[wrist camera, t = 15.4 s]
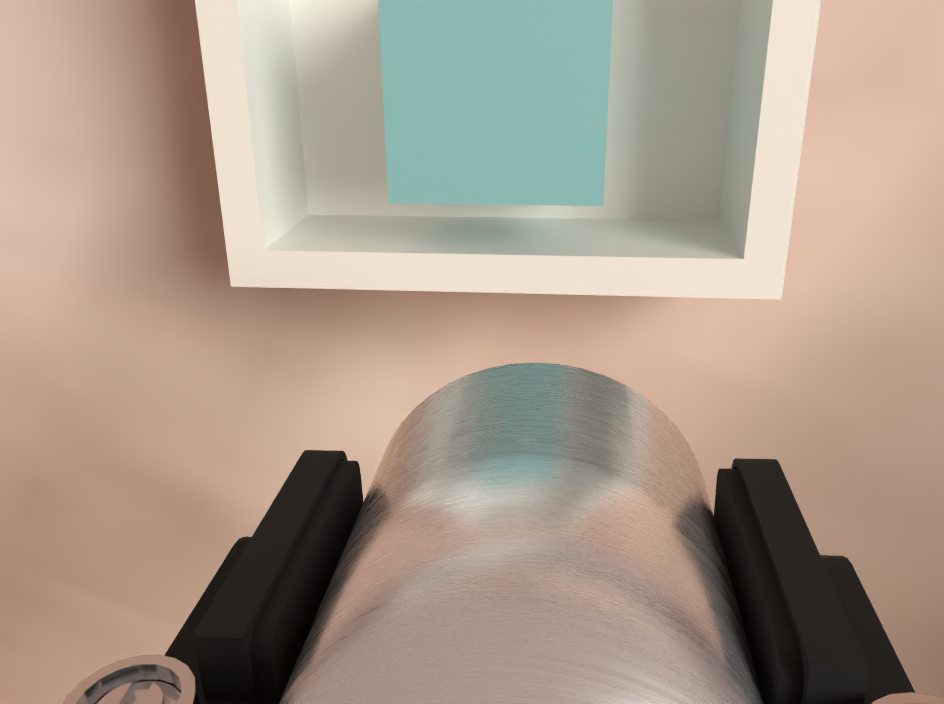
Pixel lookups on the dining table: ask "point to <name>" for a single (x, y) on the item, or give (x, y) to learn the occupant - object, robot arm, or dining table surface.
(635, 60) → the tote
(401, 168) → the teal cube
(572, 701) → the steel cylinder
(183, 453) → the dining table surface
